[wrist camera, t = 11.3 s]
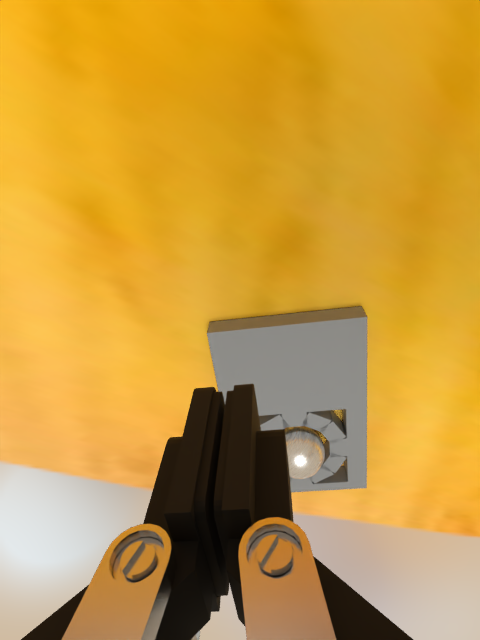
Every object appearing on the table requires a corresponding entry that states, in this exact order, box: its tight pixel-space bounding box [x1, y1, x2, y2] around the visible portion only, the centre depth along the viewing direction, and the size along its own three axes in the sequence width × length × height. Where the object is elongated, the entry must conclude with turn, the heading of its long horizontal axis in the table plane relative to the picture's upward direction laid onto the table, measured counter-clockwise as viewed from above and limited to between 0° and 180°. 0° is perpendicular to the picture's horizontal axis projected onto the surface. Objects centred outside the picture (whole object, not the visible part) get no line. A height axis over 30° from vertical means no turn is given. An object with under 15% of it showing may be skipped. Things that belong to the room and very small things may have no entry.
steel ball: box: [285, 426, 325, 479], centre depth 47 cm, size 6×6×6 cm
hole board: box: [207, 306, 367, 492], centre depth 46 cm, size 16×24×2 cm, turn 8°
